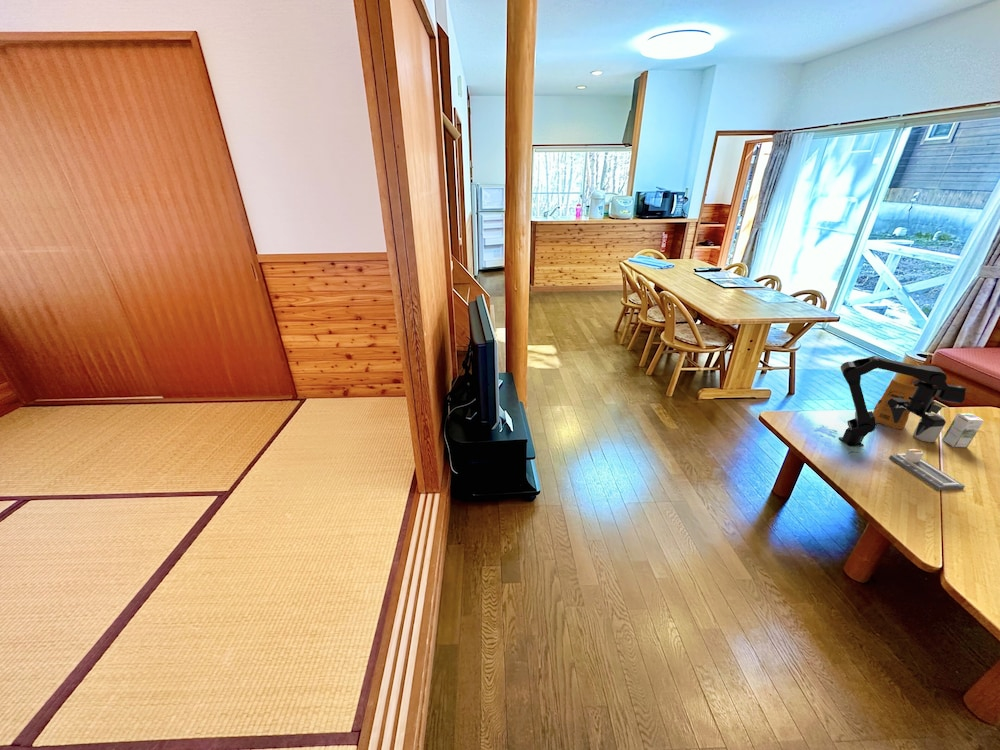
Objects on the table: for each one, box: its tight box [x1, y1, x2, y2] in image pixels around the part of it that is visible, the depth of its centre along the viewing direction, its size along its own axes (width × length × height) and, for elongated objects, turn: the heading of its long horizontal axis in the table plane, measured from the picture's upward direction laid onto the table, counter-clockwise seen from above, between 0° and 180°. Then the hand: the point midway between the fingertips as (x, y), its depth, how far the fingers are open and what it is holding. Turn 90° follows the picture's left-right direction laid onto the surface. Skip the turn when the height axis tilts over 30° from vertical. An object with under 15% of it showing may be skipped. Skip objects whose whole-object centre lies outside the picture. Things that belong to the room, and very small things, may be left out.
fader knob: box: [904, 448, 924, 463], centre depth 164 cm, size 4×3×5 cm
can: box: [912, 412, 946, 443], centre depth 178 cm, size 8×8×12 cm
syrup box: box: [942, 413, 985, 448], centre depth 173 cm, size 6×6×14 cm
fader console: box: [888, 452, 966, 491], centre depth 159 cm, size 10×20×2 cm, turn 2°
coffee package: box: [872, 378, 917, 430], centre depth 188 cm, size 10×12×22 cm
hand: (906, 428), depth 167 cm, fingers open, 9 cm apart
